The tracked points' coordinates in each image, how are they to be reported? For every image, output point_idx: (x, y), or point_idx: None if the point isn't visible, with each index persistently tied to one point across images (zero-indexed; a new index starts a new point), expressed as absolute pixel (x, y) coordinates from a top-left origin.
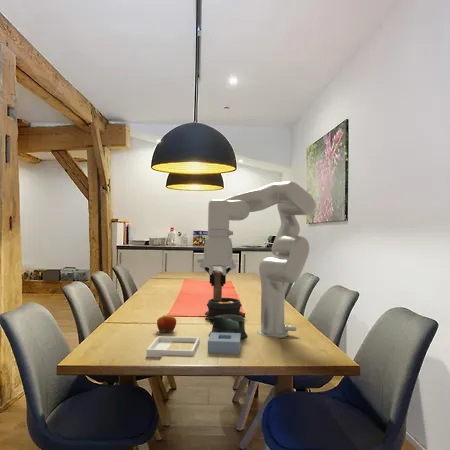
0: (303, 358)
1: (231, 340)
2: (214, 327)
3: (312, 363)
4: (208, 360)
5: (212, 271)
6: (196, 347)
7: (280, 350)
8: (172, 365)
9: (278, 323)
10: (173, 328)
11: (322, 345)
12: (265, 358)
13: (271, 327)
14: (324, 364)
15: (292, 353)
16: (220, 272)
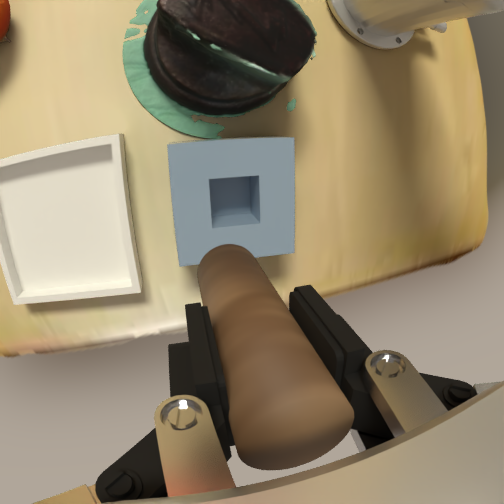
0: (426, 219)
1: (265, 242)
2: (167, 38)
3: (433, 249)
4: (191, 286)
5: (210, 436)
6: (129, 216)
7: (390, 162)
8: (110, 338)
9: (417, 28)
10: (6, 29)
11: (471, 117)
12: (348, 236)
13: (389, 28)
14: (448, 249)
15: (412, 185)
16: (330, 449)
